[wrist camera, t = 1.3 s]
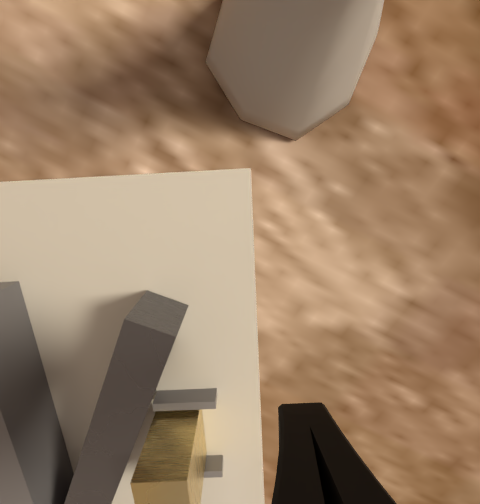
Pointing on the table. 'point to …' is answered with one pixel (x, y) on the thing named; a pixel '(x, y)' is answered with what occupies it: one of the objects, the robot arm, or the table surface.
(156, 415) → the block
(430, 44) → the table surface
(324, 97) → the flask
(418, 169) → the table surface
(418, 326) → the table surface
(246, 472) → the hearth board
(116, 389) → the block
